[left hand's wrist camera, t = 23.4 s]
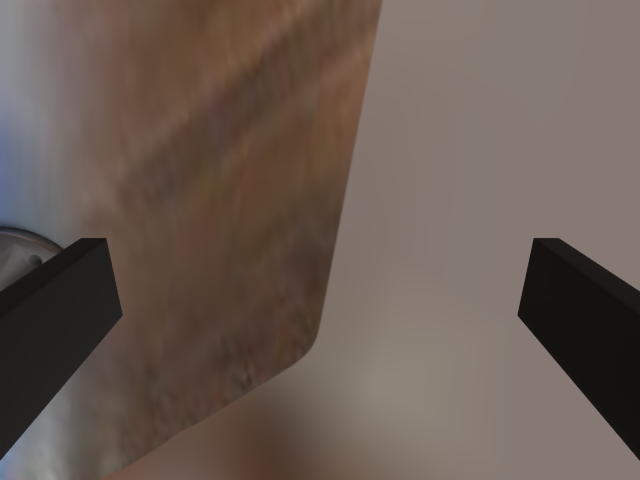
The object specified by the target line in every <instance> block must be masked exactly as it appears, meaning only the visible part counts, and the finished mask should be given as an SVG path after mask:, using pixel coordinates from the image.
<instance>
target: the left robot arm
mask: <svg viewBox="0 0 640 480" xmlns="http://www.w3.org/2000/svg"><path fill="white" fill-rule="evenodd" d="M121 317H122V310H121V306H120V301H119V296H118V291H117V287H116V282H115V277H114V273H113V268H112V263H111V258H110V254H109V249H108V244H107V240H106V238H81V239H79V240H78V241H76V242H75V243H73V244H72V245H70V246H69V247H67V248H65V249H64V250H63V249H62V248H60V247H59V246H57V245H56V244H54V243H52V242H51V241H49V240H47V239H45V238H43V237H41V236H38V235H36V234H33V233H30V232H27V231H23V230H18V229H9V228H0V460H1V459H2V458H3V457H4V456H5V454H6V453H7V452H8V451H9V450H10V448H11V447H12V446H13V445H14V444H15V442H16V441H17V440H18V439H19V438H20V437H21V435H22V434H23V433H24V432H25V431H26V429H27V428H28V427H29V426H30V425H31V423H32V422H33V421H34V420H35V419H36V418H37V416H38V415H39V414H40V413H41V412H42V410H43V409H44V408H45V407H46V406H47V404H48V403H49V402H50V401H51V400H52V399H53V397H54V396H55V395H56V394H57V393H58V391H59V390H60V389H61V388H62V387H63V385H64V384H65V383H66V382H67V381H68V380H69V378H70V377H71V376H72V375H73V374H74V372H75V371H76V370H77V369H78V368H79V366H80V365H81V364H82V363H83V362H84V361H85V359H86V358H87V357H88V356H89V355H90V353H91V352H92V351H93V350H94V349H95V347H96V346H97V345H98V344H99V343H100V342H101V340H102V339H103V338H104V337H105V336H106V334H107V333H108V332H109V331H110V330H111V328H112V327H113V326H114V325H115V324H116V323H117V321H118V320H119V319H120V318H121ZM518 317H519V318H520V319H521V320H522V321H523V323H524V324H525V325H526V326H527V327H528V328H529V330H530V331H531V332H532V333H533V334H534V336H535V337H536V338H537V339H538V340H539V342H540V343H541V344H542V345H543V346H544V347H545V349H546V350H547V351H548V352H549V353H550V355H551V356H552V357H553V358H554V359H555V361H556V362H557V363H558V364H559V365H560V366H561V368H562V369H563V370H564V371H565V372H566V374H567V375H568V376H569V377H570V378H571V380H572V381H573V382H574V383H575V384H576V385H577V387H578V388H579V389H580V390H581V391H582V393H583V394H584V395H585V396H586V397H587V398H588V400H589V401H590V402H591V403H592V404H593V406H594V407H595V408H596V409H597V410H598V412H599V413H600V414H601V415H602V416H603V417H604V419H605V420H606V421H607V422H608V423H609V425H610V426H611V427H612V428H613V429H614V431H615V432H616V433H617V434H618V435H619V437H620V438H621V439H622V440H623V441H624V442H625V444H626V445H627V446H628V447H629V448H630V450H631V451H632V452H633V453H634V454H635V455H636V457H637V458H638V459H639V460H640V291H638V290H637V289H635V288H634V287H632V286H631V285H629V284H628V283H626V282H625V281H623V280H622V279H620V278H619V277H617V276H615V275H614V274H612V273H611V272H609V271H608V270H606V269H605V268H603V267H602V266H600V265H599V264H597V263H596V262H594V261H593V260H591V259H590V258H588V257H587V256H585V255H584V254H582V253H581V252H579V251H578V250H576V249H575V248H573V247H571V246H570V245H568V244H567V243H565V242H564V241H562V240H561V239H559V238H534V240H533V244H532V249H531V254H530V258H529V263H528V268H527V273H526V277H525V282H524V287H523V291H522V296H521V301H520V306H519V310H518Z"/></svg>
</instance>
